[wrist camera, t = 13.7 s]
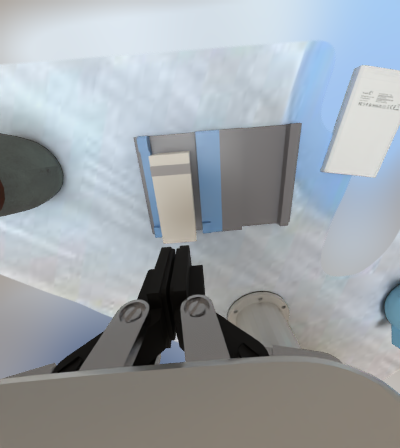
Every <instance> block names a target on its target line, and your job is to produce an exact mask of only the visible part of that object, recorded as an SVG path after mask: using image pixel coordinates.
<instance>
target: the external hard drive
mask: <svg viewBox="0 0 400 448" xmlns="http://www.w3.org/2000/svg"><path fill="white" fill-rule="evenodd" d="M399 125H400V71H398V70H393V69H385V68H380V67H373V66H366V65H365V66H364V65H362V66H359V67H357V68H355V69H354V71H353V74H352V76H351V80H350V82H349V85H348V88H347V91H346V94H345V97H344V99H343V102H342V105H341V108H340V111H339V114H338V117H337V120H336V123H335V126H334V129H333V132H332V134H333V136H332V139H331V141H330V144H329V147H328V150H327V153H326V156H325V159H324V162H323V165H322V168H321V170H320V171H321V172H327V173H337V174H346V175H356V176H365V177H376V175H377V173H378V171H379V168H380V167H381V164H382V162H383V160H384V157H385V156H386V153H387V151H388V149H389V147H390V145H391V142H392V140H393V138H394V136H395V134H396V131H397V129H398V127H399Z"/></svg>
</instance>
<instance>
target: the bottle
mask: <svg viewBox="0 0 400 448" xmlns="http://www.w3.org/2000/svg"><path fill="white" fill-rule="evenodd" d="M62 183H63V173H62V169H61V166H60V164H59V163H58V161H57V159H56V158H55V156H54V155H53V154H52V153H50V152H49V151H48V150H47V149H46V148H44V147H43V146H41V145H39V144H38V143H35V142H33V141H30V140H27V139H24V138H20V137H17V136H12V135H7V134H1V133H0V217H1V216H6V215H10V214H14V213H18V212H22V211H26V210H30V209H32V208H35V207H38V206H39V205H41V204H43V203H44V202H46V201H48V200H50V199H51V198H52V197H53V196H54V195H55V194H56V193H57V192H58V191H59V190H60V188H61V186H62Z"/></svg>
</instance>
